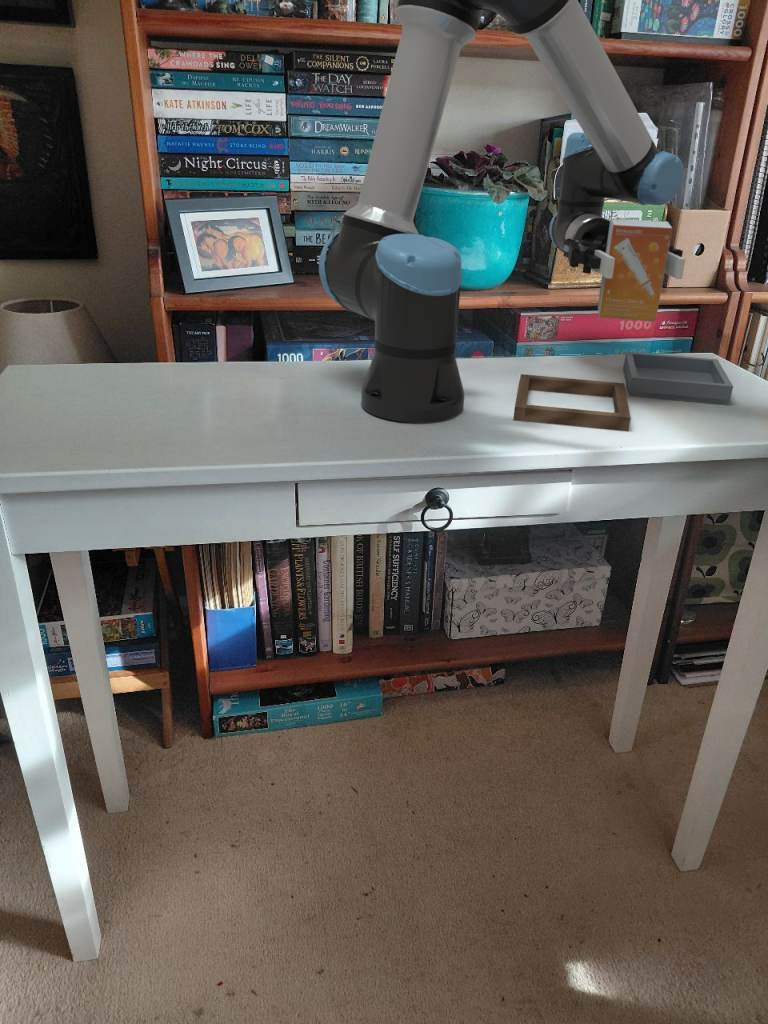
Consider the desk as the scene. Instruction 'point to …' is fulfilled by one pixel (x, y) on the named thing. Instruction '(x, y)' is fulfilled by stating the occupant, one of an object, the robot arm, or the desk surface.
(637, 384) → the slate tray
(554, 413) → the walnut frame
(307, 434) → the desk surface
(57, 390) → the desk surface
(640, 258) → the small box
